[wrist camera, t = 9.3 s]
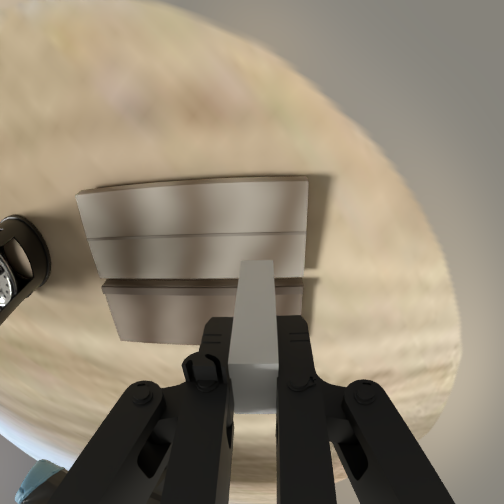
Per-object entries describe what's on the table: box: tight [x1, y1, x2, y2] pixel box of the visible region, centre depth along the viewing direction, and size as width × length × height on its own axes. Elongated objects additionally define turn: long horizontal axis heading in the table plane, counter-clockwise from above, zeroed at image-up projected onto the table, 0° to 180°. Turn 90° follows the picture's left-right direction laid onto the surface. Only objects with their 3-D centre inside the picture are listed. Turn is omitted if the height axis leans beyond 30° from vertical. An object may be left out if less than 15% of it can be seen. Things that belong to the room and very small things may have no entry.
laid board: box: [101, 278, 303, 345], centre depth 31 cm, size 20×8×2 cm, turn 92°
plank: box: [75, 176, 308, 279], centre depth 27 cm, size 20×9×1 cm, turn 92°
